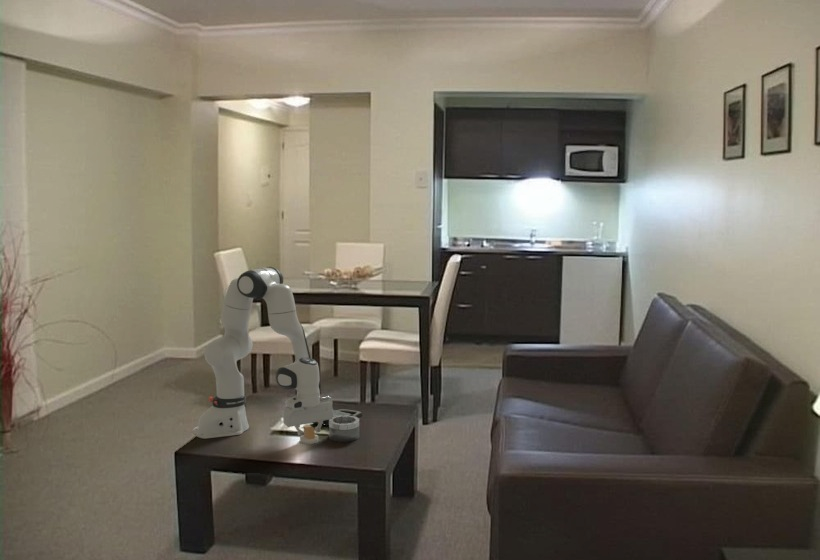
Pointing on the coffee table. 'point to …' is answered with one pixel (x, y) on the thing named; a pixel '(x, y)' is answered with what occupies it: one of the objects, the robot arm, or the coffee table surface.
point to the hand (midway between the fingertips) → (309, 433)
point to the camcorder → (343, 412)
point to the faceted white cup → (344, 428)
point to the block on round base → (309, 435)
